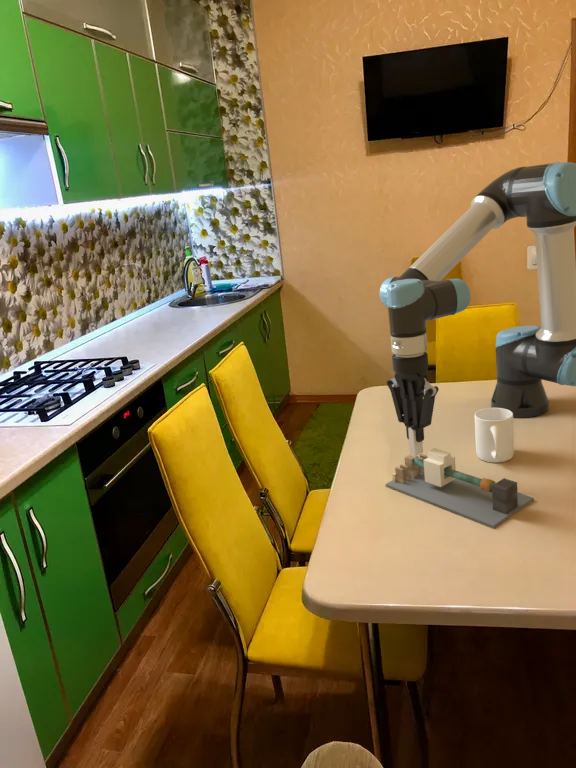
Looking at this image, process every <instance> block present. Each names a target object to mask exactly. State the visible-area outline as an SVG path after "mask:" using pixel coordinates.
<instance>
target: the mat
mask: <svg viewBox="0 0 576 768" xmlns="http://www.w3.org/2000/svg"><path fill="white" fill-rule="evenodd" d="M419 474H420V475H418V476H416V477H414V478H410V477H409V481H406V480H405V483H403V484H402V483H400V482H397V481H396V482H393V479H391V480H390V481H389V482H387V483H385V487H386V488H389V489H391V490H394V491H397V492H399V493H401V494H405V496H409V497H412V498H415V499H416V500H420V501H421V502H425V503H428V504H430V505H432V506H434V507H437V508H439V509H443V510H445V511H447V512H450V513H452V514H455V515H458V516H461V517H462V518H466V519H468V520H470V521H473V522H475V523H478V524H480V525H484V526H485V527H488V528H491V529H493V530H494V529H495V528H496V527H497V526H499V525H500V524H502V523H504V522H505V521H506V520H508V519H509V518H510V517H512V516H513V515H515V514H516V513H518V512H519V511H520V510H522V509H523V508H525V507H526V506H527V505H529V504H531V503H532V502H533V501H534V500H535V497H534V496H530V495H527V494H524V493H521V492H518V491H517V498H518V507H516V508H515V509H513V510H512V511H511V512H509V513H508V514H503V513H501V512H498V511H495V510H493V499H492V492H488V491H485V490H482V489H480V486H477V485H474V484H471V483H468V482H465V481H462V480H459V479H454V480H452V481H451V482H449V483H447V484H446V485H444V486H442V487H439V486H436V485H433V484H431V483H428V482H425V475H424V472H423V473H422V472H419Z"/></svg>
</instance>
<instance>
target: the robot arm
mask: <svg viewBox="0 0 576 768" xmlns="http://www.w3.org/2000/svg"><path fill="white" fill-rule="evenodd" d="M519 217H520V218H526V228H527V229H528V230H529V231H531V232H532V233H533V234H534V246H535V259H536V272H537V285H538V297H539V310H540V313H539V314H540V325H541V326H539V325H531V324H530V325H520V326H514V327H510V328H506V329H502V330H501V331H498V333H497V334H496V338H495V361H496V362H495V366H496V384H495V388H494V391H493V393H492V397H491V400H490V406H491V407H490V408H504V409H507V410H510V411H511V412H512V413H513V418H517V419H518V418H521V419H522V418H532V417H537V416H540V415H544V414H545V413H547V412H548V411H549V398H548V395H547V393H546V392H547V391H546V389H545V387H544V385H543V381H547V382H551V383H555V384H558V385H560V386H570V387H576V243H575V242H576V241H575V227H576V163H575V162H571V161H570V162H569V161H568V162H559V161H557V162H552V163H544V164H536V165H530V166H529V165H528V166H519V167H515V168H513V169H511V170H509V171H507V172H505V173H503V174H502V175H500V176H498V177H497V178H496V179H495V180H492V182H490V183H489V184H488V185H486V187H484V188H483V189H482V190H481V191H479V192H478V194H477V195H476V196H474V197H473V199H472V200H471V201H470V207H469V208H468V209H467V210H465V212H464V213H463V214H462V215H461V216H460V217H459V218H458V219H457V220H456V221H454V223H453V224H452V225H451V226H450V227H448V228H447V230H446V231H445V232H443V234H442V235H441V236H440V237H439V238H437V240H436V241H435V242H433V244H432V245H431V246H429V247H428V249H426V251H424V252H423V253H422V254H421V255H420V256H419V257H418V259H416V260H415V261H414V263H412V264H411V266H409V267H408V268H407V269H406V270H405V271H404V272H403V273H402V274H401V275H399V276H392V277H389V278H386V279H385V280H384V281H383V282H382V283H381V286H380V288H379V299H380V301H381V303H382V304H383V306H385V307H387V313H388V323H389V332H390V333H389V334H390V335H389V336H390V347H391V353H393V355H392V356H391V360H392V361H391V362H392V369H393V370H392V371H393V373H394V377H393V378H391V379H389V380H387V381H386V385H387V387H388V389H389V392H390V393H391V397H392V402H393V406H394V409H395V412H396V417H397V421H398V422H399V423H402V424H404V426H405V428H406V429H405V430H406V438H407V440H408V445H409V455H413V456H419V455H420V454H423V452H424V446H423V445H424V444H423V443H424V442H423V441H425V428H427V427H429V426H430V425H431V424H432V420H433V413H434V406H435V399H436V396H437V394H438V392H439V387H438V386H436V385H435V386H434V385H432V384H431V383H430V379H429V377H428V374H427V373H428V369H429V359H428V357H429V356H428V353H427V352H426V351H427V350H428V339H427V337H428V336H427V322H428V321H429V322H430V321H433V320H437V319H440V318H444V317H447V316H453V315H456V314H458V313H461V312H463V311H465V310H466V309H467V308H468V307H469V305H470V303H471V290H470V287H469V286H468V284H467V283H466V282H465V281H464V280H463V279H460V278H451V279H450V278H446V279H445V280H443V279H444V278H445V277H446V276H447V275H448V274H449V272H451V271H452V270H453V269H454V268H455V267H456V265H458V264H459V263H460V262H461V261H462V260H463V259H464V258H465V257H466V256H467V255H468V254H469V253H470V252H471V251H472V250H473V249H474V248H475V247H476V246H477V245H478V244H479V243H480V242H481V241H482V240H483V239H484V238H485V237H486V236H487V235H488V234H489V233H490V232H491V231H492V230H495V229H499V228H501V227H502V226H503V225H504V224H505V223H506V222H507V221H509V220H512V219H515V218H519Z"/></svg>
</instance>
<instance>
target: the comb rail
mask: <svg viewBox="0 0 576 768" xmlns="http://www.w3.org/2000/svg"><path fill="white" fill-rule="evenodd" d="M426 458H428V456H427V454H423V453H420V454H419V455H417V456H413V455H410V454H408V455H406V456H404V464H400V465H399V467H398V466H396V467H395V468H394V470H395V472H393V473H392V474H391V476H392V479H391V480H393V482H396V481H397V482H400V483H402V484H403V483H405V480H406V481H409V477H410V478H414V477H416V476H418V475H420V474H419V472H422V473H423V472H424V461H423V460H424V459H426ZM444 475H447V476H450V477H453V478H456V479H459V480H462V481H465V482H468V483H471V484H474V485H477V486H480V489H482V490H485V491H488V492H492V499H493V510H495V511H498V512H501V513H503V514H508V513H509V512H511V511H512V510H513V509H515V508H516V507H518V498H517V492H518V482H517V481H514V480H511V479H507V478H502V479H500V480H499V481H497V482H495V480H492V479H489V478H486V477H483V478H480V477H477V476H474V475H470V474H467V473H464V472H461V471H457V470H453V469H449V468H444Z"/></svg>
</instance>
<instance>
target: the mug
mask: <svg viewBox="0 0 576 768" xmlns="http://www.w3.org/2000/svg"><path fill="white" fill-rule="evenodd" d="M474 431H475V432H474V436H475V438H474V439H475V453H476V456H477V458H478V459H479V460H481V461H483V462H485V463H486V462H487V463H493V464H494V463H496V464H497V463H503V462H507V461H509V460H511V459H512V458H513V457H514V454H515V446H514V445H515V444H514V443H515V441H514V439H515V438H514V437H515V436H514V433H515V432H514V417H513V413H512V412H511V411H510V410H507V409H504V408H491V407H485V408H482V409H478V410H476V411H475V413H474Z"/></svg>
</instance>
